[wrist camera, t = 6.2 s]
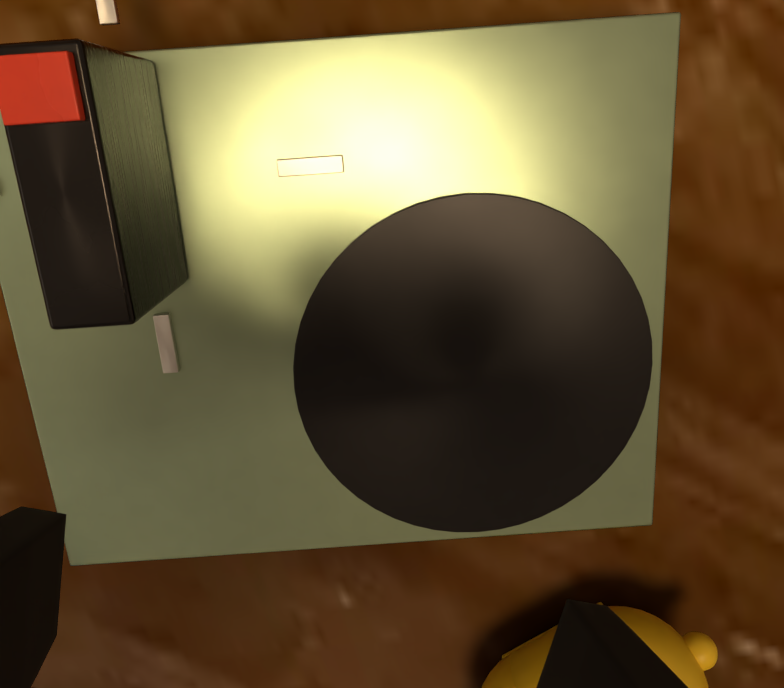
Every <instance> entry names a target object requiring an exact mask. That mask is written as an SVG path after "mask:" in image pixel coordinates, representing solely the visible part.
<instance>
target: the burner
mask: <svg viewBox="0 0 784 688" xmlns="http://www.w3.org/2000/svg"><path fill="white" fill-rule="evenodd" d="M652 364H653V360H652V337H651V331H650V325H649V319H648V316H647V313H646V309H645V306H644V303H643V300H642V297H641V295H640V293H639V291H638V289H637V287H636V285H635V282H634V280H633V278H632V277H631V275H630V274H629V272H628V271H627V269H626V268H625V266H624V265H623V263H622V262H621V260H620V259H619V257H618V256H617V255H616V254H615V253H614V252H613V251H612V250H611V249H610V248H609V246H608V245H607V244H606V243H605V242H604V241H603V240H602V239H601V238H599V237H598V236H597V235H596V234H594V233H593V232H592V231H591V230H590V229H588V228H587V227H586V226H585V225H583V224H581V223H580V222H578V221H576V220H575V219H573V218H572V217H570V216H568V215H567V214H565V213H563V212H561V211H558V210H556V209H554V208H551V207H549V206H547V205H544V204H542V203H540V202H536V201H532V200H529V199H525V198H521V197H518V196H511V195H504V194H496V193H463V194H455V195H448V196H441V197H437V198H434V199H430V200H427V201H423V202H419V203H416V204H414V205H411V206H409V207H407V208H404V209H402V210H400V211H397V212H395V213H393V214H391V215H389V216H388V217H386V218H384V219H383V220H381V221H379V222H377V223H376V224H374V225H372V226H371V227H370V228H368V229H367V230H366V231H365V232H363V233H362V234H361V235H359V236H358V237H357V238H356V239H354V240H353V241H352V242H351V243H350V244H349V245H348V246H347V247H346V248H345V249H344V250H343V251H342V252H341V253H340V254H339V255H338V256H337V257H336V258H335V260H334V261H333V262H332V264H331V265H330V266H329V268H328V269H327V270H326V272H325V273H324V274H323V276H322V277H321V278H320V280H319V282H318V284H317V286H316V288H315V289H314V291H313V293H312V295H311V297H310V298H309V301H308V303H307V306H306V309H305V311H304V314H303V316H302V319H301V322H300V325H299V330H298V334H297V338H296V343H295V351H294V362H293V376H294V391H295V396H296V401H297V407H298V411H299V414H300V417H301V420H302V423H303V426H304V429H305V432H306V434H307V436H308V438H309V440H310V442H311V444H312V446H313V448H314V450H315V451H316V453H317V454H318V456H319V457H320V458H321V460H322V461H323V463H324V464H325V466H326V467H327V468H328V470H329V471H330V472H331V473H332V474H333V475H334V476H335V477H336V478H337V480H338V481H339V482H340V483H341V484H342V485H343V486H345V487H346V488H347V489H348V490H349V491H350V492H352V493H353V494H354V495H355V496H356V497H357V498H359V499H360V500H362V501H363V502H365V503H367V504H368V505H370V506H371V507H373V508H374V509H376V510H378V511H380V512H382V513H384V514H386V515H388V516H390V517H392V518H394V519H397V520H400V521H403V522H406V523H408V524H411V525H414V526H418V527H423V528H427V529H432V530H438V531H448V532H484V531H492V530H499V529H504V528H508V527H512V526H516V525H520V524H523V523H526V522H529V521H532V520H534V519H537V518H540V517H542V516H544V515H546V514H548V513H550V512H552V511H554V510H556V509H558V508H560V507H562V506H564V505H565V504H567V503H568V502H570V501H571V500H573V499H574V498H576V497H577V496H579V495H580V494H582V493H583V492H584V491H585V490H586V489H588V488H589V487H590V486H591V485H592V484H594V483H595V482H596V481H597V480H598V479H599V478H600V477H601V476H602V475H603V474H604V473H605V472H606V471H607V470H608V468H609V467H610V466H611V465H612V464H613V463H614V461H615V460H616V459H617V457H618V456H619V455H620V453H621V452H622V451H623V449H624V448H625V446H626V445H627V443H628V441H629V439H630V438H631V436H632V434H633V432H634V430H635V429H636V427H637V424H638V422H639V419H640V417H641V414H642V412H643V409H644V407H645V403H646V399H647V395H648V391H649V387H650V381H651V373H652Z"/></svg>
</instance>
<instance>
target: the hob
mask: <svg viewBox="0 0 784 688" xmlns="http://www.w3.org/2000/svg"><path fill="white" fill-rule="evenodd" d="M96 5H97V11H98V16H99V22H100V24H101V25H115V24H120V20H119V14H118V8H117V3H116V0H96ZM680 19H681V14H680V13H679V12H672V13H658V14H644V15H630V16H616V17H602V18H588V19H574V20H560V21H546V22H532V23H518V24H504V25H490V26H476V27H462V28H448V29H434V30H420V31H406V32H392V33H378V34H364V35H350V36H336V37H322V38H308V39H294V40H280V41H266V42H252V43H238V44H224V45H210V46H196V47H182V48H168V49H154V50H140V51H126V52H124V53H127V54H131V55H134V56H138V57H141V58H144V59H148V60H151V61H152V62H153V64H154V70H155V76H156V82H157V88H158V95H159V101H160V107H161V113H162V120H163V126H164V132H165V138H166V144H167V151H168V157H169V163H170V169H171V176H172V182H173V188H174V194H175V200H176V207H177V213H178V219H179V225H180V232H181V238H182V244H183V250H184V256H185V263H186V269H187V275H188V279H187V281H186V282H185V283H184V284H183V285H181V286H180V287H179V288H178V289H177V290H175V291H174V292H173V293H172V294H170V295H169V296H168V297H167V298H165V299H164V300H163V301H162V302H160V303H159V304H158V305H157V306H155V307H154V308H153V309H152V310H150V311H149V312H148V313H147V314H145V315H144V316H143V317H142V318H140V319H139V320H138V321H137V322H135V323H134V324H132V325H120V326H106V327H91V328H77V329H63V330H55V329H52V328H51V327H50V324H49V319H48V315H47V311H46V306H45V302H44V297H43V293H42V289H41V284H40V280H39V276H38V271H37V267H36V262H35V258H34V254H33V249H32V245H31V241H30V236H29V232H28V227H27V223H26V219H25V214H24V210H23V206H22V201H21V197H20V192H19V188H18V184H17V179H16V175H15V171H14V166H13V162H12V157H11V153H10V149H9V144H8V140H7V136H6V131H5V127H4V124H3V119H2V115H1V111H0V284H1V288H2V292H3V296H4V300H5V304H6V308H7V312H8V316H9V320H10V325H11V329H12V333H13V337H14V341H15V345H16V349H17V353H18V357H19V361H20V365H21V369H22V373H23V377H24V381H25V385H26V389H27V393H28V397H29V401H30V405H31V409H32V413H33V417H34V421H35V425H36V429H37V433H38V437H39V441H40V445H41V449H42V453H43V457H44V461H45V466H46V470H47V474H48V478H49V482H50V486H51V490H52V494H53V498H54V502H55V506H56V510H57V513H63V514H66V526H65V538H64V542H65V546H66V550H67V554H68V558H69V562H70V565H71V566H77V565H91V564H105V563H120V562H134V561H148V560H162V559H177V558H191V557H205V556H219V555H234V554H248V553H262V552H277V551H291V550H305V549H319V548H334V547H348V546H362V545H376V544H391V543H405V542H419V541H433V540H448V539H462V538H476V537H491V536H505V535H519V534H533V533H548V532H562V531H576V530H590V529H605V528H619V527H633V526H647V525H652V521H653V503H654V485H655V467H656V449H657V431H658V413H659V395H660V377H661V360H662V342H663V324H664V306H665V288H666V270H667V252H668V234H669V216H670V198H671V180H672V162H673V144H674V126H675V109H676V91H677V73H678V55H679V37H680ZM463 193H496V194H504V195H511V196H518V197H521V198H525V199H529V200H532V201H536V202H540V203H542V204H544V205H547V206H549V207H551V208H554V209H556V210H558V211H561V212H563V213H565V214H567V215H568V216H570V217H572V218H573V219H575V220H576V221H578V222H580V223H581V224H583V225H585V226H586V227H587V228H588V229H590V230H591V231H592V232H593V233H594V234H596V235H597V236H598V237H599V238H601V239H602V240H603V241H604V242H605V243H606V244H607V245H608V246H609V248H610V249H611V250H612V251H613V252H614V253H615V254H616V255H617V256H618V257H619V259H620V260H621V262H622V263H623V265H624V266H625V268H626V269H627V271H628V272H629V274H630V275H631V277H632V278H633V280H634V282H635V285H636V287H637V289H638V291H639V293H640V295H641V297H642V300H643V303H644V306H645V309H646V313H647V316H648V319H649V325H650V331H651V337H652V360H653V364H652V373H651V381H650V387H649V391H648V395H647V399H646V403H645V407H644V409H643V412H642V414H641V417H640V419H639V422H638V424H637V427H636V429H635V430H634V432H633V434H632V436H631V438H630V439H629V441H628V443H627V445H626V446H625V448H624V449H623V451H622V452H621V453H620V455H619V456H618V457H617V459H616V460H615V461H614V463H613V464H612V465H611V466H610V467H609V468H608V470H607V471H606V472H605V473H604V474H603V475H602V476H601V477H600V478H599V479H598V480H597V481H596V482H595V483H594V484H592V485H591V486H590V487H589V488H588V489H586V490H585V491H584V492H583V493H582V494H580V495H579V496H577V497H576V498H574V499H573V500H571V501H570V502H568V503H567V504H565V505H564V506H562V507H560V508H558V509H556V510H554V511H552V512H550V513H548V514H546V515H544V516H542V517H540V518H537V519H534V520H532V521H529V522H526V523H523V524H520V525H516V526H512V527H508V528H504V529H499V530H492V531H484V532H448V531H438V530H432V529H427V528H423V527H418V526H414V525H411V524H408V523H406V522H403V521H400V520H397V519H394V518H392V517H390V516H388V515H386V514H384V513H382V512H380V511H378V510H376V509H374V508H373V507H371V506H370V505H368V504H367V503H365V502H363V501H362V500H360V499H359V498H357V497H356V496H355V495H354V494H353V493H352V492H350V491H349V490H348V489H347V488H346V487H345V486H343V485H342V484H341V483H340V482H339V481H338V480H337V478H336V477H335V476H334V475H333V474H332V473H331V472H330V471H329V470H328V468H327V467H326V466H325V464H324V463H323V461H322V460H321V458H320V457H319V456H318V454H317V453H316V451H315V450H314V448H313V446H312V444H311V442H310V440H309V438H308V436H307V434H306V432H305V429H304V426H303V423H302V420H301V417H300V414H299V411H298V407H297V401H296V396H295V391H294V376H293V362H294V351H295V343H296V338H297V334H298V330H299V325H300V322H301V319H302V316H303V314H304V311H305V309H306V306H307V303H308V301H309V298H310V297H311V295H312V293H313V291H314V289H315V288H316V286H317V284H318V282H319V280H320V278H321V277H322V276H323V274H324V273H325V272H326V270H327V269H328V268H329V266H330V265H331V264H332V262H333V261H334V260H335V258H336V257H337V256H338V255H339V254H340V253H341V252H342V251H343V250H344V249H345V248H346V247H347V246H348V245H349V244H350V243H351V242H352V241H353V240H354V239H356V238H357V237H358V236H359V235H361V234H362V233H363V232H365V231H366V230H367V229H368V228H370V227H371V226H372V225H374V224H376V223H377V222H379V221H381V220H383V219H384V218H386V217H388V216H389V215H391V214H393V213H395V212H397V211H400V210H402V209H404V208H407V207H409V206H411V205H414V204H416V203H419V202H423V201H427V200H430V199H434V198H437V197H441V196H448V195H455V194H463Z"/></svg>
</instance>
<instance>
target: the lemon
mask: <svg viewBox="0 0 784 688" xmlns="http://www.w3.org/2000/svg"><path fill="white" fill-rule="evenodd" d="M597 604H599V605H603V604H602V602H599V603H597ZM608 607H609V608H610V609H611V610H612V611H613V612H614V613H615V614H616V615H617V616H619V617H620V618H621V619H622V620H623V621H624V622H625V623H626V624H627V625H628V626H629V627H630V628H631V629H632V630H633V631H634V632H635V633H636V634H637V635H638V636H639V637H640V638H641V639H642V640H643V641H644V642H645V643H646V644H647V645H648V646H649V647H650V649H651V650H652V651H653V652H654V653H655V654H656V655H657V656H658V657H659V658H660V659H661V660H662V661H663V662H664V663H665V664H666V665H667V666H668V667H669V668H670V669H671V670H672V671H673V672H674V673H675V674H676V675H677V676H678V677H679V678H680V679H681V680H682V682H683V683H684V684H685V685H686V686H687V687H688V688H709V687H708V683H707V680H706V677H705V674H704V671H705V670H708V669H710V668H712V667H713V666H714V665H715V663H716V661H717V657H718V652H717V648H716V645H715V643H714V642H713V641H712V639H711V638H710V637H708V636H707V635H706V634H704V633H701V632H696V631H695V632H689V633H686V634H685V635H684V636H683V637H682V636H681V635H680V634H679V633H678V632H677V631H676V630H674V629H673V628H672V627H671V626H670V625H668V624H667V623H665V622H664V621H662V620H661V619H659V618H658V617H656V616H654V615H652V614H650V613H647V612H645V611H643V610H640V609H635V608H631V607H626V606H608ZM557 626H558V625H556V626H555V627H553V628H551V629H549V630H547V631H545V632H544V633H542V634H540V635H538V636H536V637H534V638H533V639H531V640H529V641H527V642H525V643H523V644H522V645H520V646H518V647H516V648H514V649H512V650H511V651H509V652H507V653H505V654H503V655H502V660H501V661H500V662H499V663H498V664H497V665H496V666H495V667H494V668H493V669H492V670H491V671H490V673H489V674H488V676H487V678H486V680H485V681H484V683H483V685H482V688H536V687H537V684H538V681H539V679H540V676H541V673H542V670H543V667H544V664H545V661H546V658H547V655H548V652H549V649H550V647H551V644H552V641H553V638H554V635H555V632H556V629H557Z"/></svg>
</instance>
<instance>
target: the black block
mask: <svg viewBox="0 0 784 688" xmlns="http://www.w3.org/2000/svg"><path fill="white" fill-rule="evenodd" d="M0 111H1V115H2V119H3V124H4V127H5V131H6V136H7V140H8V144H9V149H10V153H11V157H12V162H13V166H14V171H15V175H16V179H17V184H18V188H19V192H20V197H21V201H22V206H23V210H24V214H25V219H26V223H27V227H28V232H29V236H30V241H31V245H32V249H33V254H34V258H35V262H36V267H37V271H38V276H39V280H40V284H41V289H42V293H43V297H44V302H45V306H46V311H47V315H48V319H49V324H50V327H51V328H52V329H55V330H63V329H77V328H91V327H106V326H120V325H132V324H134V323H135V322H137V321H138V320H139V319H140V318H142V317H143V316H144V315H145V314H147V313H148V312H149V311H150V310H152V309H153V308H154V307H155V306H157V305H158V304H159V303H160V302H162V301H163V300H164V299H165V298H167V297H168V296H169V295H170V294H172V293H173V292H174V291H175V290H177V289H178V288H179V287H180V286H181V285H183V284H184V283H185V282H186V281H187V279H188V275H187V269H186V263H185V256H184V250H183V244H182V238H181V232H180V225H179V219H178V213H177V207H176V200H175V194H174V188H173V182H172V176H171V169H170V163H169V157H168V151H167V144H166V138H165V132H164V126H163V120H162V113H161V107H160V101H159V95H158V88H157V82H156V76H155V70H154V64H153V62H152V61H151V60H148V59H144V58H141V57H138V56H134V55H131V54H127V53H124V52H121V51H117V50H114V49H111V48H107V47H104V46H100V45H97V44H94V43H90V42H87V41H83V40H80V39H63V40H49V41H35V42H20V43H6V44H0Z"/></svg>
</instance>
